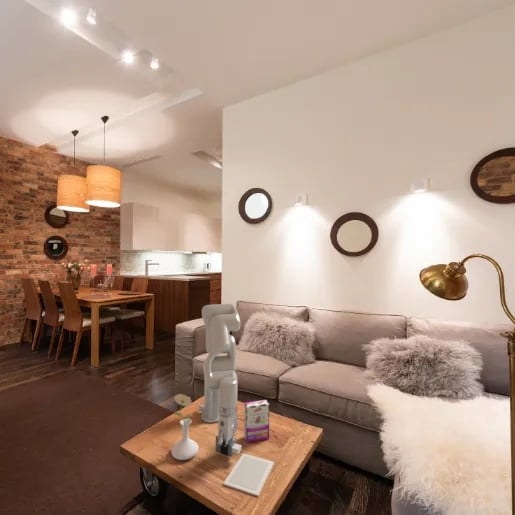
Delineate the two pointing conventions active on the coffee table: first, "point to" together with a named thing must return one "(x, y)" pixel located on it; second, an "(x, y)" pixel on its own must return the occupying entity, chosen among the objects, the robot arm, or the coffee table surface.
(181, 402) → the flower in vase
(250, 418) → the candy bar box
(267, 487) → the coffee table surface
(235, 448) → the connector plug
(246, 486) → the white rectangular tray
